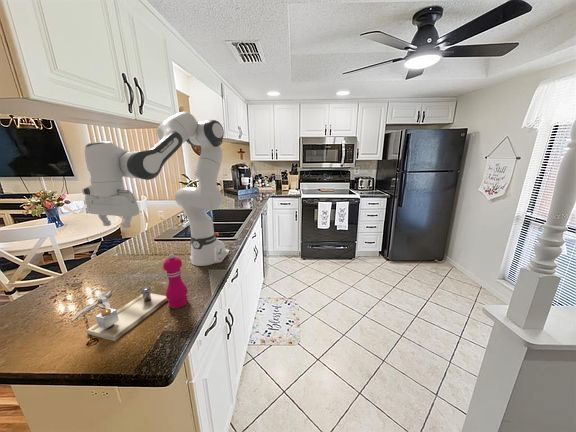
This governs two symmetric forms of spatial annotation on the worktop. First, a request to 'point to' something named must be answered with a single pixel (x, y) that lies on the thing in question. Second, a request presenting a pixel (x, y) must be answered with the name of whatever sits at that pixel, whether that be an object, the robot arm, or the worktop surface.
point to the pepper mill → (175, 282)
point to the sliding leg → (107, 318)
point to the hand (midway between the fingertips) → (117, 226)
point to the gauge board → (129, 317)
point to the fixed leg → (146, 293)
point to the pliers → (100, 299)
